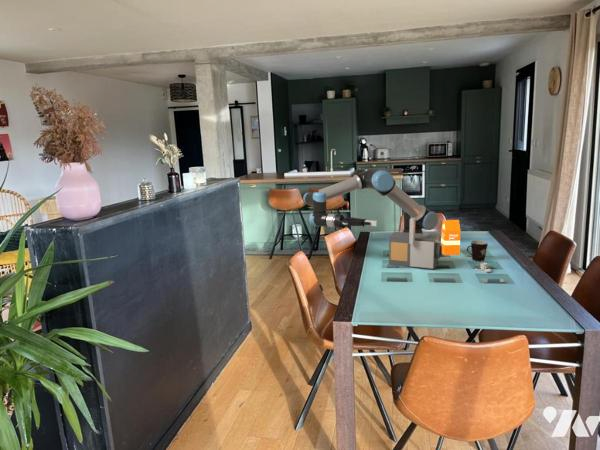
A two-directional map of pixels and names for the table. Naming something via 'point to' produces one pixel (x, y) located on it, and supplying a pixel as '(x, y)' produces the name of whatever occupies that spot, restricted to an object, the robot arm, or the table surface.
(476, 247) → the coffee mug
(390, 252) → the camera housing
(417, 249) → the side door
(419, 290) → the table surface
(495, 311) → the table surface
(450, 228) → the orange juice
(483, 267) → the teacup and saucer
